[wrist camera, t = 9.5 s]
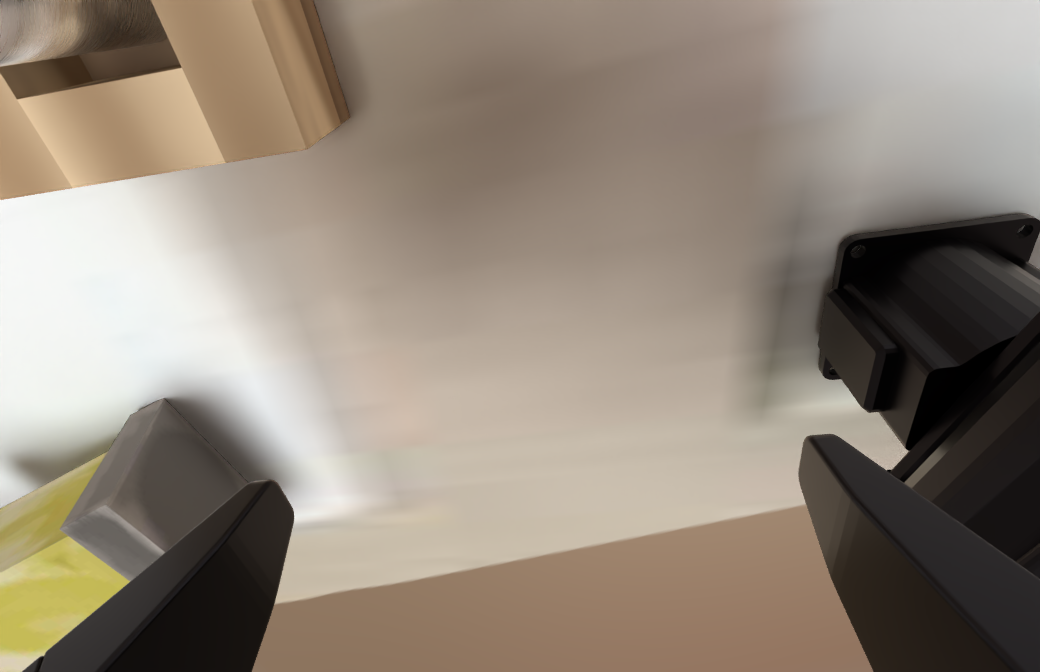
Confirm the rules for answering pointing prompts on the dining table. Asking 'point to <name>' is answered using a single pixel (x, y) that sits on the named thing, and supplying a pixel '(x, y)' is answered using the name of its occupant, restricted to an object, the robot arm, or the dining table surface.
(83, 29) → the pin
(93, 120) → the bore block
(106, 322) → the dining table surface
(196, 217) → the dining table surface
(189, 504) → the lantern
